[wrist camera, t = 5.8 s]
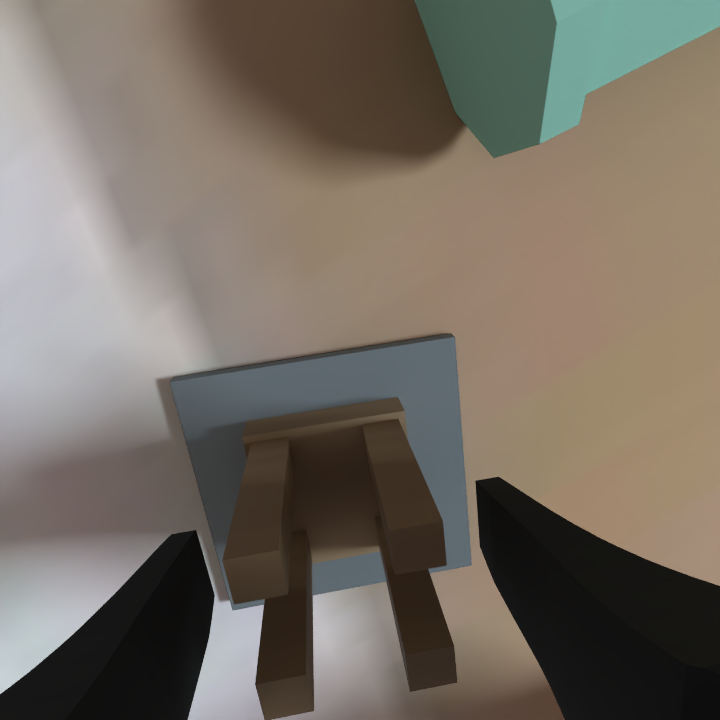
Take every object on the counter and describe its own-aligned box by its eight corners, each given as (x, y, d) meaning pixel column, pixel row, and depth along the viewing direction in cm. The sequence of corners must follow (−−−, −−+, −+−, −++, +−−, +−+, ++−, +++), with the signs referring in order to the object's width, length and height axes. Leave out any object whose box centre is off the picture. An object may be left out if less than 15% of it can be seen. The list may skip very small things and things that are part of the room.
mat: (467, 556, 16) (471, 565, 16) (234, 600, 16) (232, 610, 15) (450, 333, 14) (455, 337, 13) (173, 377, 13) (169, 381, 13)
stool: (412, 523, 15) (466, 687, 10) (274, 548, 15) (256, 729, 10) (398, 397, 14) (452, 509, 9) (246, 421, 14) (208, 553, 8)
